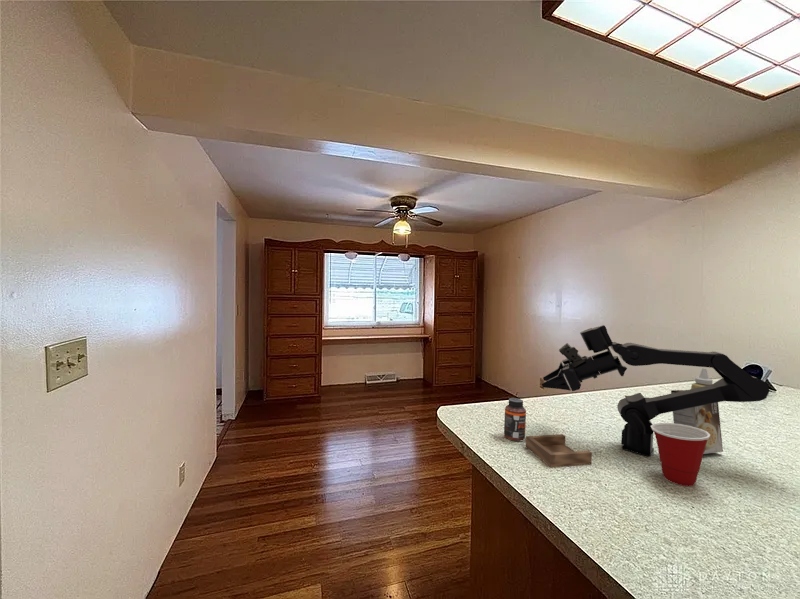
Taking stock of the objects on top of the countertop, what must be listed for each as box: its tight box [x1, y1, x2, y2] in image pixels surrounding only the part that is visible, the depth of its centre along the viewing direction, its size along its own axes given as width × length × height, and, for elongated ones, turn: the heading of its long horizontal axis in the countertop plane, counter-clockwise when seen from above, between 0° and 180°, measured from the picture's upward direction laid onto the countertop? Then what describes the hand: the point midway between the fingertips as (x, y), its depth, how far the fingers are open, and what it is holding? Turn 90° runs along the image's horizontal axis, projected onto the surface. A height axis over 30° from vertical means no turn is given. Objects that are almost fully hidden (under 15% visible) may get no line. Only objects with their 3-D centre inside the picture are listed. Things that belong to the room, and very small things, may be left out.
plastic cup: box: [651, 422, 710, 487], centre depth 81 cm, size 11×11×12 cm
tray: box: [525, 433, 593, 468], centre depth 91 cm, size 11×11×3 cm
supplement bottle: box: [503, 397, 527, 442], centre depth 102 cm, size 6×6×11 cm
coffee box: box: [670, 389, 724, 455], centre depth 97 cm, size 9×6×16 cm
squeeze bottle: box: [690, 367, 713, 389], centre depth 124 cm, size 8×8×18 cm
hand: (542, 382), depth 107 cm, fingers open, 9 cm apart
